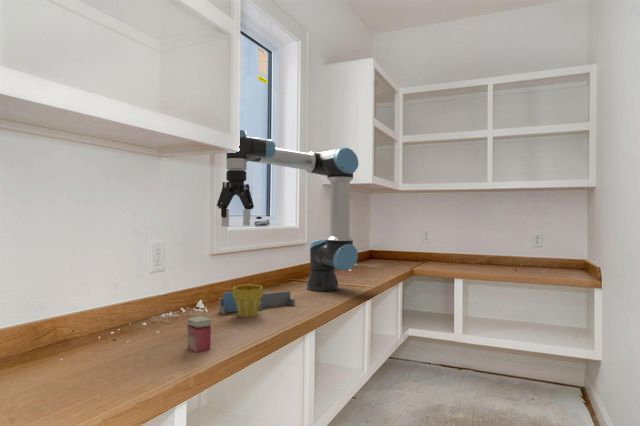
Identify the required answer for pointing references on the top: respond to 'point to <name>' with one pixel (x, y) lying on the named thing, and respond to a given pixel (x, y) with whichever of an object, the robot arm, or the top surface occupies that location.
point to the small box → (199, 334)
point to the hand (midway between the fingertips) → (236, 226)
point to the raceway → (266, 301)
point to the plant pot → (247, 299)
